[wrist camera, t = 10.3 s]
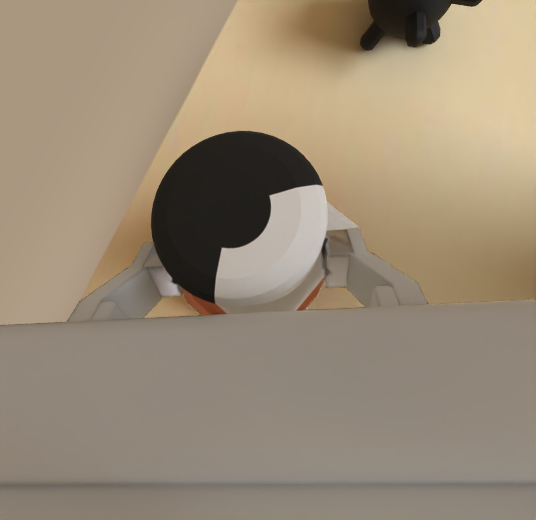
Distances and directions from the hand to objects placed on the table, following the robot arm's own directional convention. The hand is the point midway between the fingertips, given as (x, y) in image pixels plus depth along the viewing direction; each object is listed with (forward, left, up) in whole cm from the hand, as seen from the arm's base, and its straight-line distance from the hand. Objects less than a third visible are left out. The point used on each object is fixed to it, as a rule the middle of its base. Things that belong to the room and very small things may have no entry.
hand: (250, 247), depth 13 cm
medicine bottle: (0, 0, -8) cm, 8 cm away
